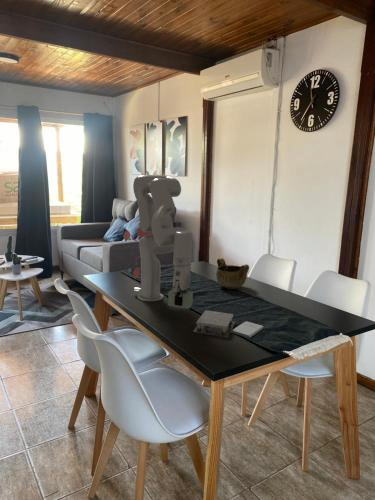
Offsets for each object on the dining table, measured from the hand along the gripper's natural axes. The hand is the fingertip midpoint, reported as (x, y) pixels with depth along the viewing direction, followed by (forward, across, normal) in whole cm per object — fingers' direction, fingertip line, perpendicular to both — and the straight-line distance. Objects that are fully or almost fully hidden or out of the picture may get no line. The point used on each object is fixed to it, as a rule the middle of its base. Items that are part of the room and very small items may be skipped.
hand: (180, 302), depth 155 cm
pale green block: (+1, 0, 0) cm, 1 cm away
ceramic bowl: (+9, +55, -11) cm, 57 cm away
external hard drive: (+8, 0, -29) cm, 30 cm away
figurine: (+10, +53, +39) cm, 67 cm away
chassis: (+8, -2, -16) cm, 18 cm away
